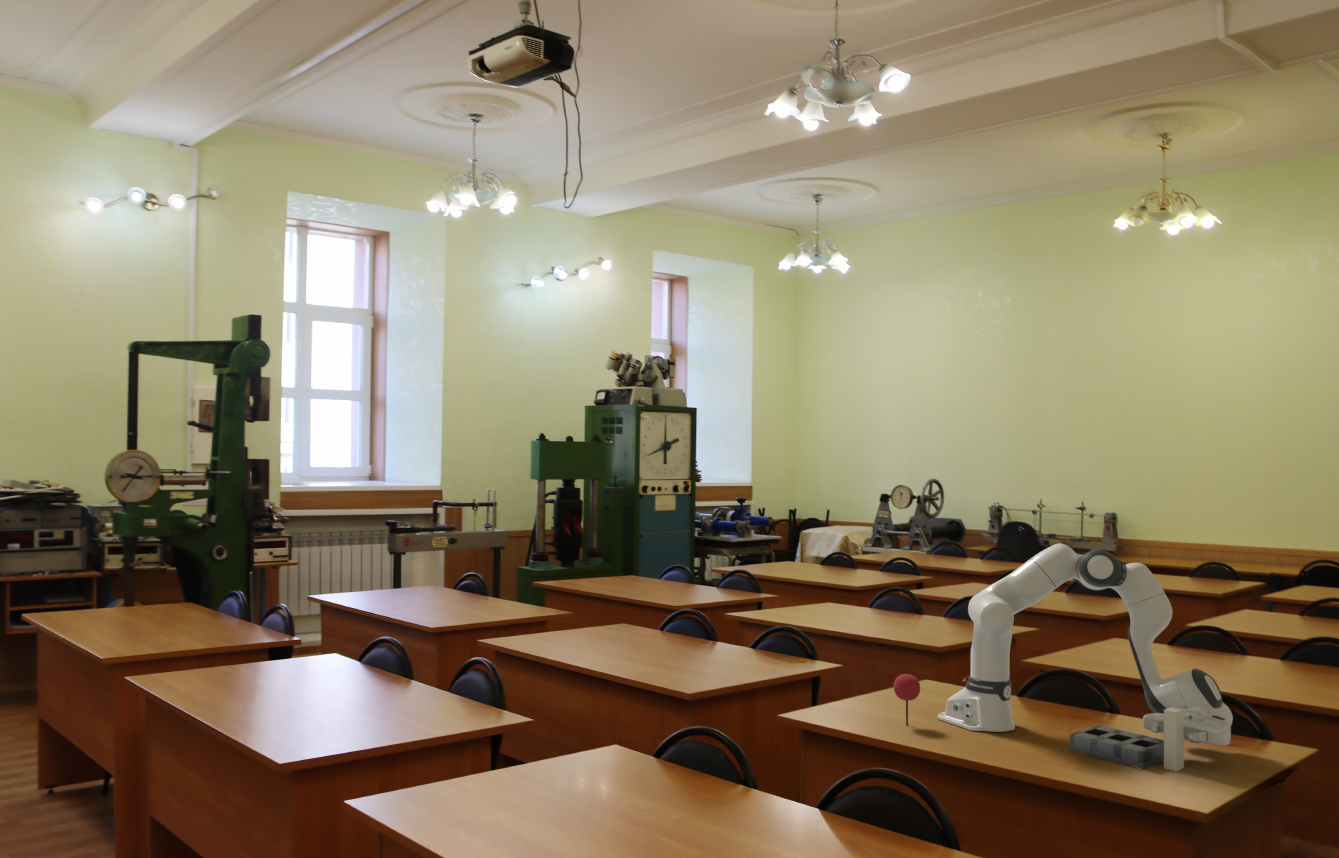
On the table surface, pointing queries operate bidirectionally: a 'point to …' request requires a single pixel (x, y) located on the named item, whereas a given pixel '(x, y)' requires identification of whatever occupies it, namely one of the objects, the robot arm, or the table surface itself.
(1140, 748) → the rack
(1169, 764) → the clay bar
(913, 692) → the lollipop
